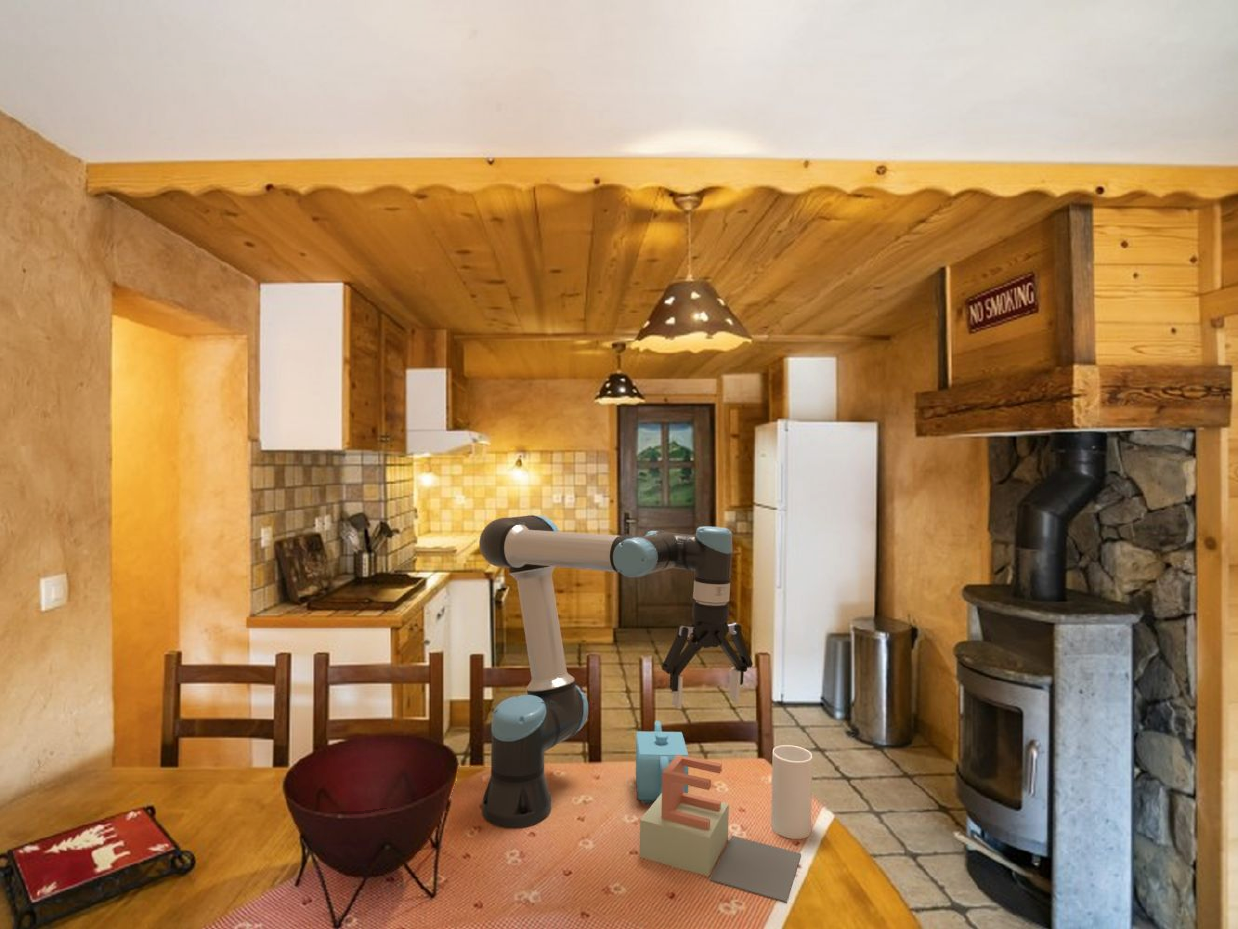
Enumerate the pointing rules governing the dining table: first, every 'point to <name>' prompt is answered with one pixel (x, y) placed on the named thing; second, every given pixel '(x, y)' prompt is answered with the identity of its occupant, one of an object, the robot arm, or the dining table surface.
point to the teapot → (656, 760)
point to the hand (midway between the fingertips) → (706, 703)
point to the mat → (757, 868)
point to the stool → (675, 793)
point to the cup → (791, 791)
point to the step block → (684, 838)
